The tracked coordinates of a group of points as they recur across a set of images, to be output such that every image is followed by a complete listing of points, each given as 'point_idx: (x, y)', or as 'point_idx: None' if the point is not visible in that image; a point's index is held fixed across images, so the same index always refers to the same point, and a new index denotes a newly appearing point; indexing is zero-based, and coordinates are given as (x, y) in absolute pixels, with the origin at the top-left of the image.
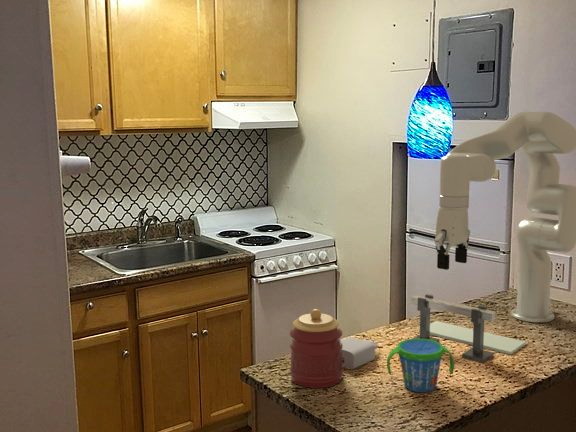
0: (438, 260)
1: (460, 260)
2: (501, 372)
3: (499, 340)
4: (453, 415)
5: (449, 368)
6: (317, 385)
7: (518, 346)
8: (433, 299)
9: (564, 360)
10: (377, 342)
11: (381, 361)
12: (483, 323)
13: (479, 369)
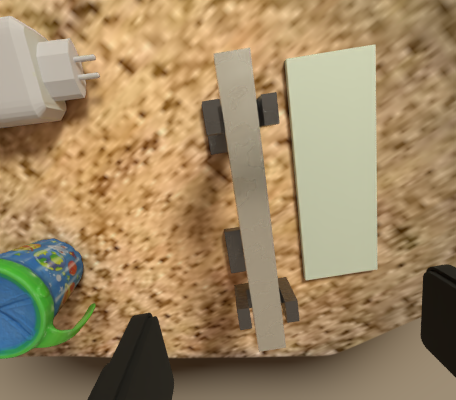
0: (111, 378)
1: (435, 320)
2: (219, 309)
3: (348, 233)
4: (33, 349)
5: (91, 306)
6: None
7: (342, 274)
8: (253, 145)
9: (343, 341)
10: (97, 76)
11: (73, 135)
12: None
13: (201, 280)
